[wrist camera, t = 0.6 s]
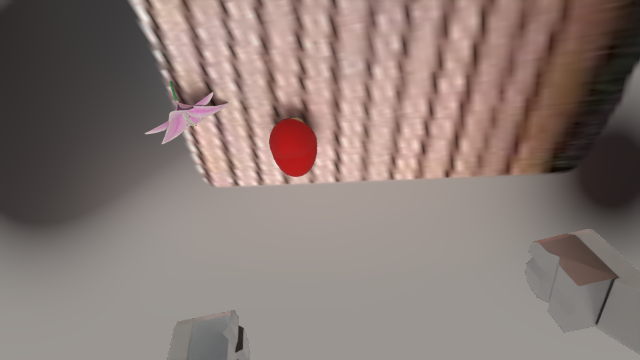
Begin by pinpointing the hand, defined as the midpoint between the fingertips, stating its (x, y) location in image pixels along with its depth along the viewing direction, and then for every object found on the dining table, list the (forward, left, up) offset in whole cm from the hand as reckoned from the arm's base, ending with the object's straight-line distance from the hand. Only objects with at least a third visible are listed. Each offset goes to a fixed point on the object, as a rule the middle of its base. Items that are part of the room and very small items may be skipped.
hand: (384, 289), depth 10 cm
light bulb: (+21, -17, -46) cm, 53 cm away
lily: (+11, -30, -46) cm, 56 cm away
